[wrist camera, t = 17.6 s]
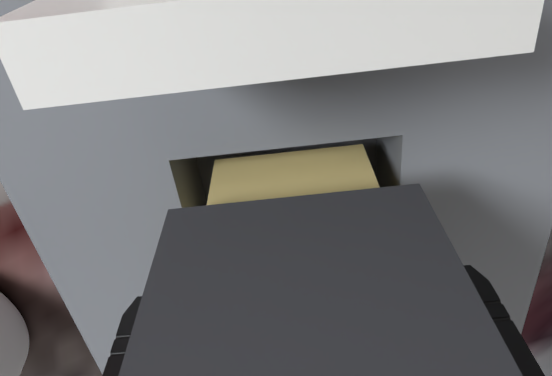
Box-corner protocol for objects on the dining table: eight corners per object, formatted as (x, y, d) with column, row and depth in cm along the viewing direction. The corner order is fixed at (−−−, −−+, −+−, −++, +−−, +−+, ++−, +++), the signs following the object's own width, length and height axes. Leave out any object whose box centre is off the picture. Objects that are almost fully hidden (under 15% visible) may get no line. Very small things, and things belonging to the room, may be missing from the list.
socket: (145, 348, 20) (124, 429, 17) (-33, -75, 11) (-142, -63, 8) (471, 319, 19) (509, 396, 16) (561, -152, 10) (680, -169, 7)
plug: (222, 283, 15) (188, 607, 8) (188, 142, 12) (91, 463, 5) (381, 267, 15) (483, 588, 8) (385, 120, 12) (550, 426, 5)
